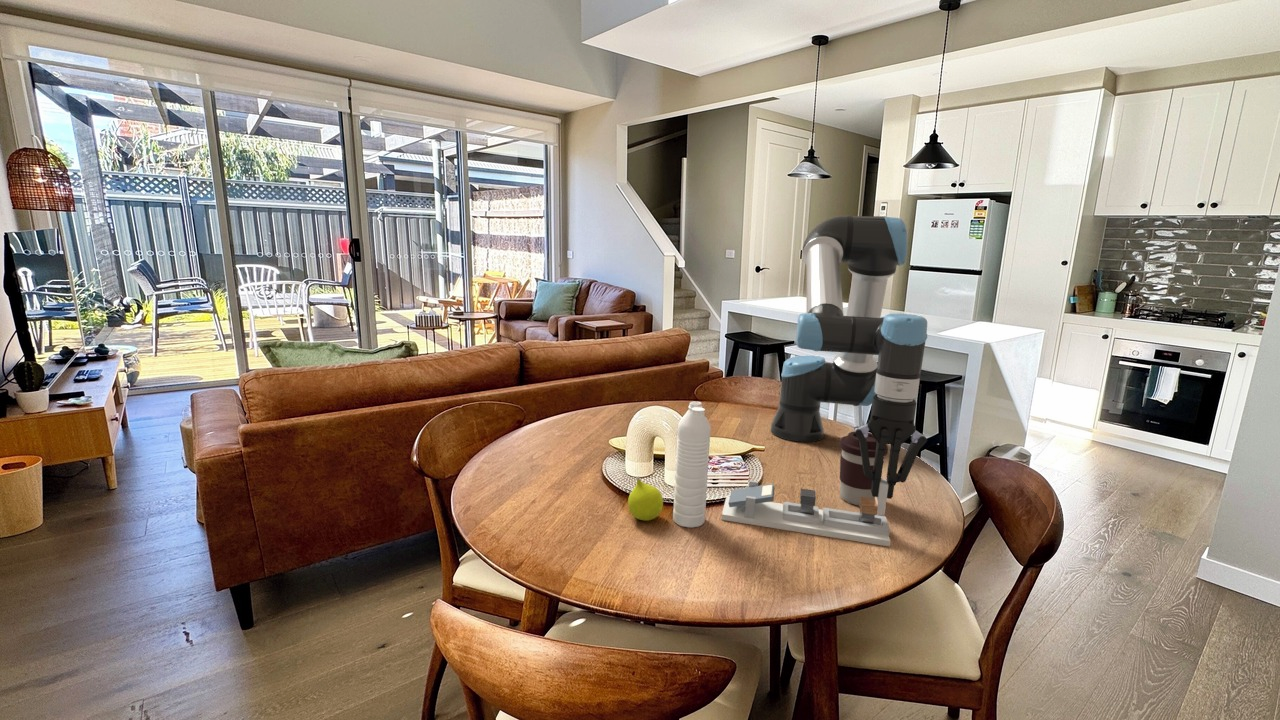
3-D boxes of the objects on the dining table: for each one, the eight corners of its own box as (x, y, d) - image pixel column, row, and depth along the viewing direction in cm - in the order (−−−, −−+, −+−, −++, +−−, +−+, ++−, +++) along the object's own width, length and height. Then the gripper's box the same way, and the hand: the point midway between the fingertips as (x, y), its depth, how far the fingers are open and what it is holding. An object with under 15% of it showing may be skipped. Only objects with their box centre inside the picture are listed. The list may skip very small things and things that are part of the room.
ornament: (622, 512, 116) (624, 467, 114) (654, 508, 119) (656, 463, 117) (634, 529, 110) (636, 482, 108) (667, 524, 112) (670, 477, 110)
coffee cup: (884, 512, 120) (894, 446, 117) (836, 506, 122) (844, 441, 119) (875, 492, 130) (883, 431, 127) (830, 487, 132) (837, 426, 129)
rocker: (733, 493, 121) (731, 488, 121) (774, 487, 119) (773, 482, 118) (729, 507, 115) (728, 502, 115) (773, 501, 112) (772, 496, 112)
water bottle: (671, 512, 117) (677, 397, 112) (702, 512, 117) (709, 398, 112) (675, 533, 109) (681, 410, 103) (708, 534, 109) (716, 411, 103)
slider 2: (857, 519, 114) (860, 496, 113) (872, 521, 113) (875, 498, 112) (859, 527, 110) (862, 504, 109) (874, 530, 110) (877, 506, 109)
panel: (726, 500, 123) (728, 476, 122) (882, 524, 115) (886, 498, 114) (721, 519, 115) (723, 494, 114) (889, 546, 107) (893, 519, 106)
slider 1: (798, 510, 116) (801, 488, 115) (812, 512, 116) (815, 490, 115) (798, 518, 113) (801, 495, 112) (813, 520, 113) (815, 497, 111)
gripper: (860, 398, 103) (846, 515, 109) (937, 406, 100) (919, 526, 105) (856, 388, 111) (842, 498, 116) (928, 395, 107) (911, 508, 112)
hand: (879, 511), depth 111 cm, fingers closed
